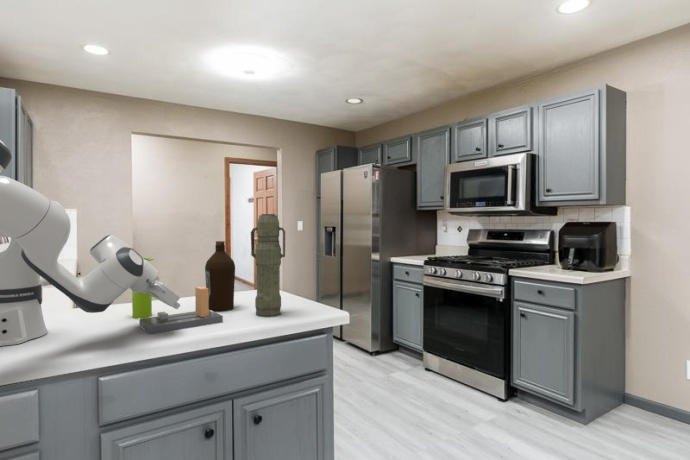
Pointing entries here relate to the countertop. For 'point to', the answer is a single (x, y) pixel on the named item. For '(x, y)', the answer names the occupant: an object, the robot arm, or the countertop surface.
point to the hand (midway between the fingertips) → (177, 306)
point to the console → (177, 321)
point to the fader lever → (202, 301)
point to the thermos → (268, 265)
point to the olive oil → (220, 279)
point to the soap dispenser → (141, 303)
